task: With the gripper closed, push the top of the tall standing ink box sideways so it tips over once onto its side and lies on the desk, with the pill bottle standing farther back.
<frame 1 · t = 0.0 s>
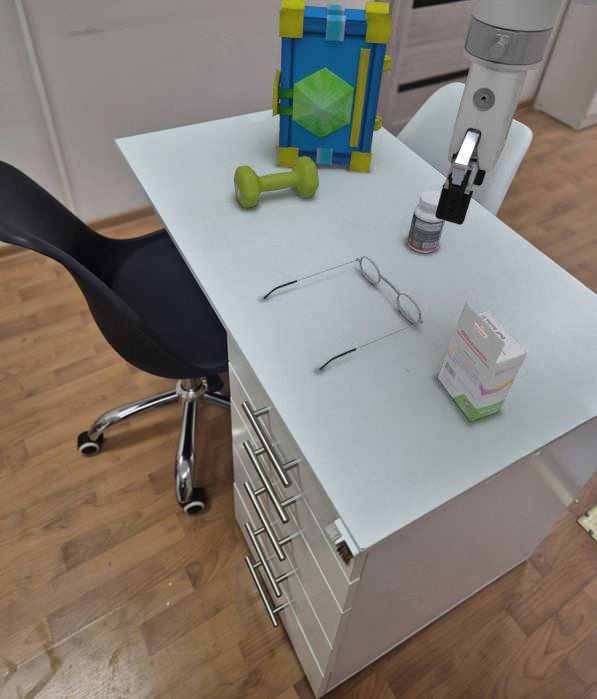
hand: (459, 200, 64), 25 cm above the table, tool pointing down, fingers open, 9 cm apart
ink box: (466, 395, 77), on the table
dumbbell: (276, 198, 110), on the table
eyeglasses: (341, 315, 87), on the table
pill bottle: (421, 245, 101), on the table
decorative book: (324, 160, 123), on the table
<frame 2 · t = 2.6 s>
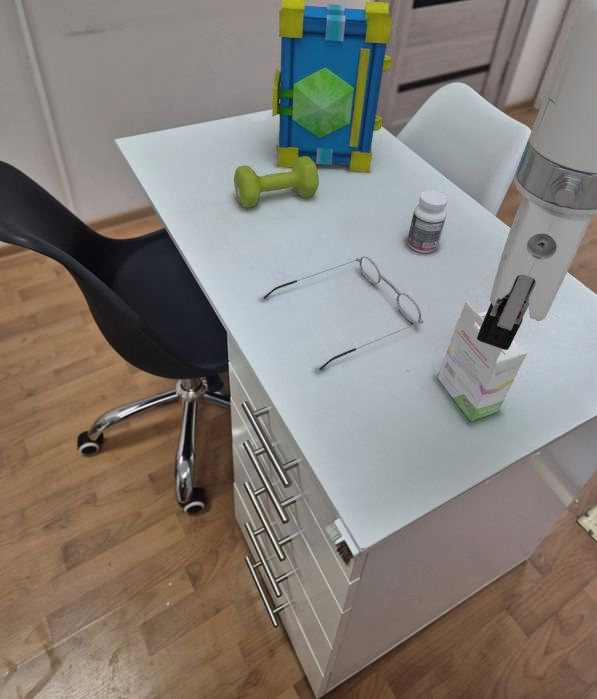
hand: (493, 340, 55), 20 cm above the table, tool pointing down, fingers closed
nothing on the table moved.
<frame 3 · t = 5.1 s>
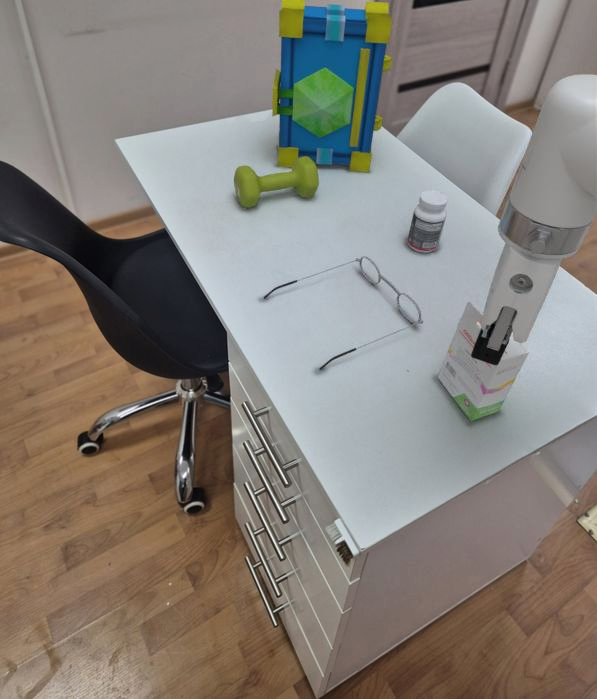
hand: (485, 356, 64), 13 cm above the table, tool pointing down, fingers closed
ink box: (466, 395, 77), on the table, touching gripper
everything else where it was.
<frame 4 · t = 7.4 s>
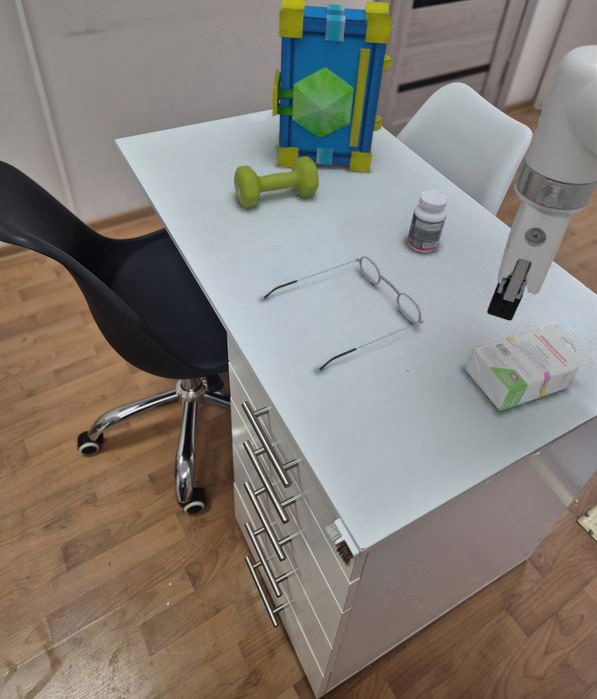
hand: (499, 313, 70), 13 cm above the table, tool pointing down, fingers closed
ink box: (484, 379, 75), point 2 cm above the table
everything else where it was.
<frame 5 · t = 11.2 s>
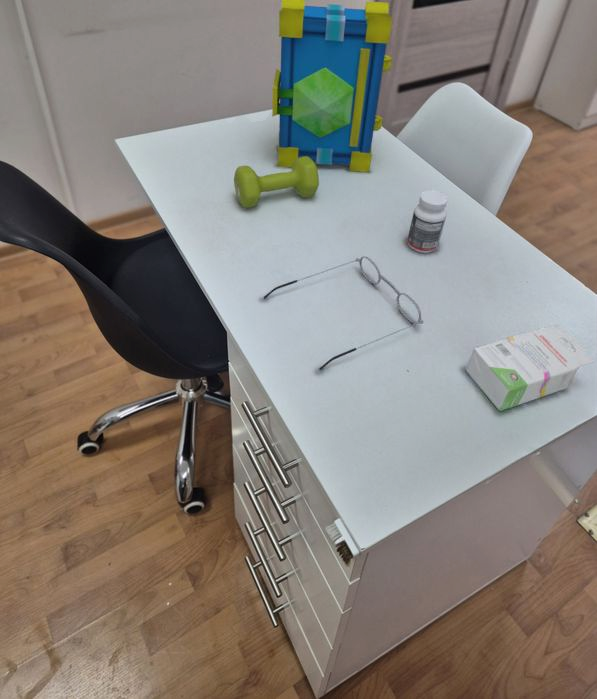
nothing on the table moved.
at the end: ink box tilted 89° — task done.
